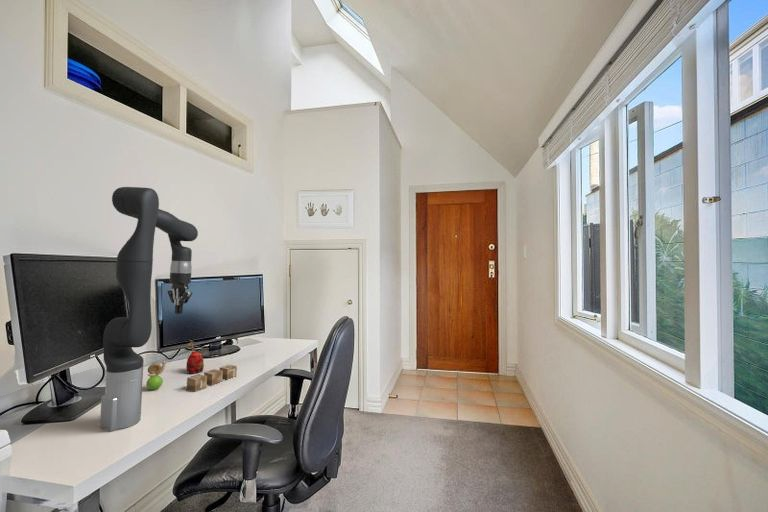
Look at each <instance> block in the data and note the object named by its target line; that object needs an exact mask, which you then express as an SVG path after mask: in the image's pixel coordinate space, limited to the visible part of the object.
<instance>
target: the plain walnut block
mask: <svg viewBox="0 0 768 512" xmlns="http://www.w3.org/2000/svg"><path fill="white" fill-rule="evenodd" d="M203 375H205V376H207V386H210V385H211V386H210V387H213V386H216V385H219V384H221V383H220V382H222V383H223V379H222V376H223V371H222V370H219V369H216V368H214V369H211V370H208V371H204V372H203ZM218 383H219V384H218ZM215 384H216V385H215Z"/></svg>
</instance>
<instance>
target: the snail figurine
mask: <svg viewBox="0 0 768 512" xmlns="http://www.w3.org/2000/svg"><path fill="white" fill-rule="evenodd" d="M164 359H165V360H163V361H162V362H161V363H162V364H160V363H157V362H155V363H151V364H150V365H149V366H148V367H147V376H148V377H149V378H148V379H147V380H146V384H145V385H146V388H147V389H148V390H151V391H155V390H158V389H159V388H160V387H162V386H163V382H164V380H163V377H162V376H161V375H162V373H163V372H164V370H165V367H166V364H167V357H164Z"/></svg>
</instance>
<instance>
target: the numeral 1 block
mask: <svg viewBox="0 0 768 512" xmlns="http://www.w3.org/2000/svg"><path fill="white" fill-rule="evenodd" d="M207 386H208V385H207V376H205V375H204V374H201V373H200V374H198V373H196V374H195V375H194V374H193V375H192V376H191V375H190V376H188V377H186V390H187V391H188V392H193V393H196V392H199V391H202V390H205V389H207Z"/></svg>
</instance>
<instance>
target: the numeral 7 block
mask: <svg viewBox="0 0 768 512" xmlns="http://www.w3.org/2000/svg"><path fill="white" fill-rule="evenodd" d="M218 370H222V371H223V376H222V380H223V379H225V380H224V381H229V380H228V379H230V380H232V379H234V378H233V377H235V378H237V377H236V376H237V374H238V373H237V372H238V371H237V370H238V366H237V365H233V364H227V365H223V366H219V369H218ZM231 378H232V379H231Z"/></svg>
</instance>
